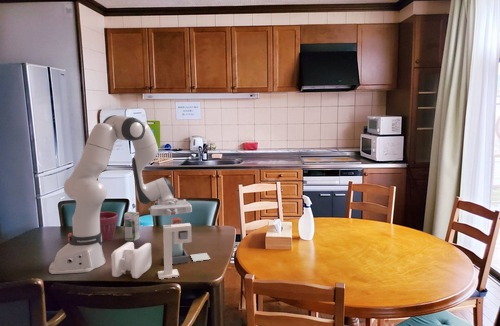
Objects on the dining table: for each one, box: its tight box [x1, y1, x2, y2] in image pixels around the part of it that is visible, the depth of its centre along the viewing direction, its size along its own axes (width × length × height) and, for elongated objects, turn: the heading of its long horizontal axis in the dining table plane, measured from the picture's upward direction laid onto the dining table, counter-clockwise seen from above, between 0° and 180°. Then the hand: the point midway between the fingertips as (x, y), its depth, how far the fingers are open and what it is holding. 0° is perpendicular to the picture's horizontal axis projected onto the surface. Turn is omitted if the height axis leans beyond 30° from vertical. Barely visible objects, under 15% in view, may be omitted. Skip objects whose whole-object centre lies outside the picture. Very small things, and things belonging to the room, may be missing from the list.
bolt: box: [170, 216, 188, 239], centre depth 161 cm, size 4×21×4 cm, turn 20°
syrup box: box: [123, 211, 141, 242], centre depth 198 cm, size 6×6×14 cm
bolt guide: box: [157, 222, 193, 280], centre depth 155 cm, size 14×6×21 cm, turn 110°
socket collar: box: [172, 248, 190, 265], centre depth 171 cm, size 9×9×3 cm
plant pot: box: [100, 211, 119, 242], centre depth 199 cm, size 14×14×13 cm
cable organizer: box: [110, 241, 153, 279], centre depth 156 cm, size 15×11×12 cm
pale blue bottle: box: [172, 232, 184, 257], centre depth 170 cm, size 5×5×14 cm
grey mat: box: [189, 252, 211, 263], centre depth 174 cm, size 8×8×1 cm
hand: (173, 213), depth 178 cm, fingers closed
